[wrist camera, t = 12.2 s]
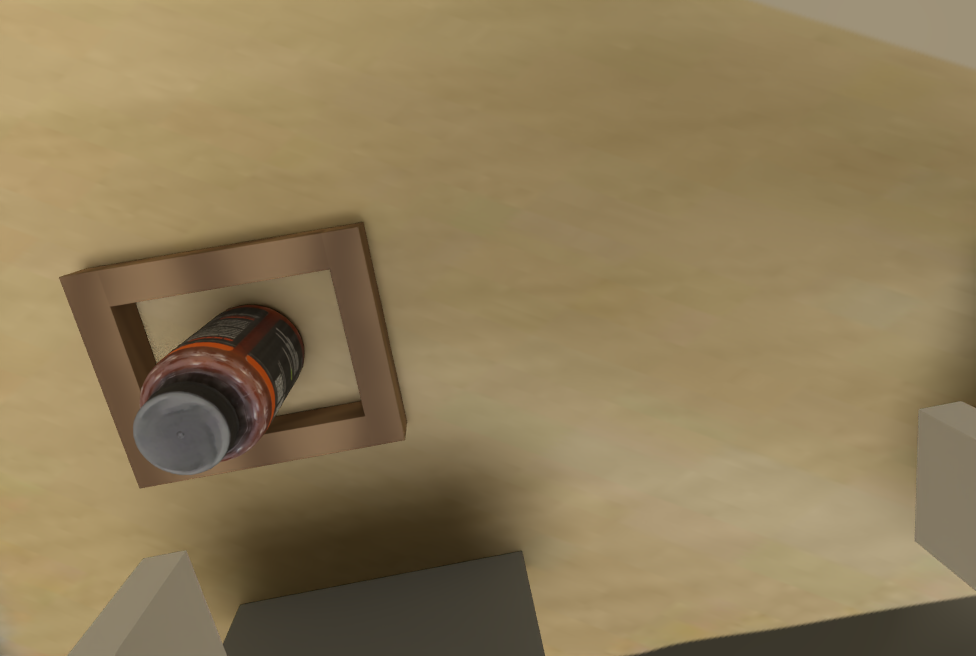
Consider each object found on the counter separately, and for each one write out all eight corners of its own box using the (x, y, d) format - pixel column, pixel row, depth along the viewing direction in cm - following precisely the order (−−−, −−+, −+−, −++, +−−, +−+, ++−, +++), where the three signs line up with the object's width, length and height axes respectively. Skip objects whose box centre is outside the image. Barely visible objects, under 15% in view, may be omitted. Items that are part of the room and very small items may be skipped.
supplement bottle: (185, 335, 35) (72, 414, 24) (267, 283, 34) (190, 341, 24) (247, 411, 37) (169, 518, 26) (326, 363, 36) (280, 452, 25)
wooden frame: (363, 222, 34) (357, 227, 32) (406, 422, 38) (404, 440, 35) (85, 268, 33) (58, 277, 31) (158, 466, 37) (139, 488, 35)
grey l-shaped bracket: (506, 459, 39) (564, 702, 22) (525, 569, 42) (589, 864, 24) (208, 514, 38) (20, 811, 21) (246, 623, 41) (106, 967, 24)
